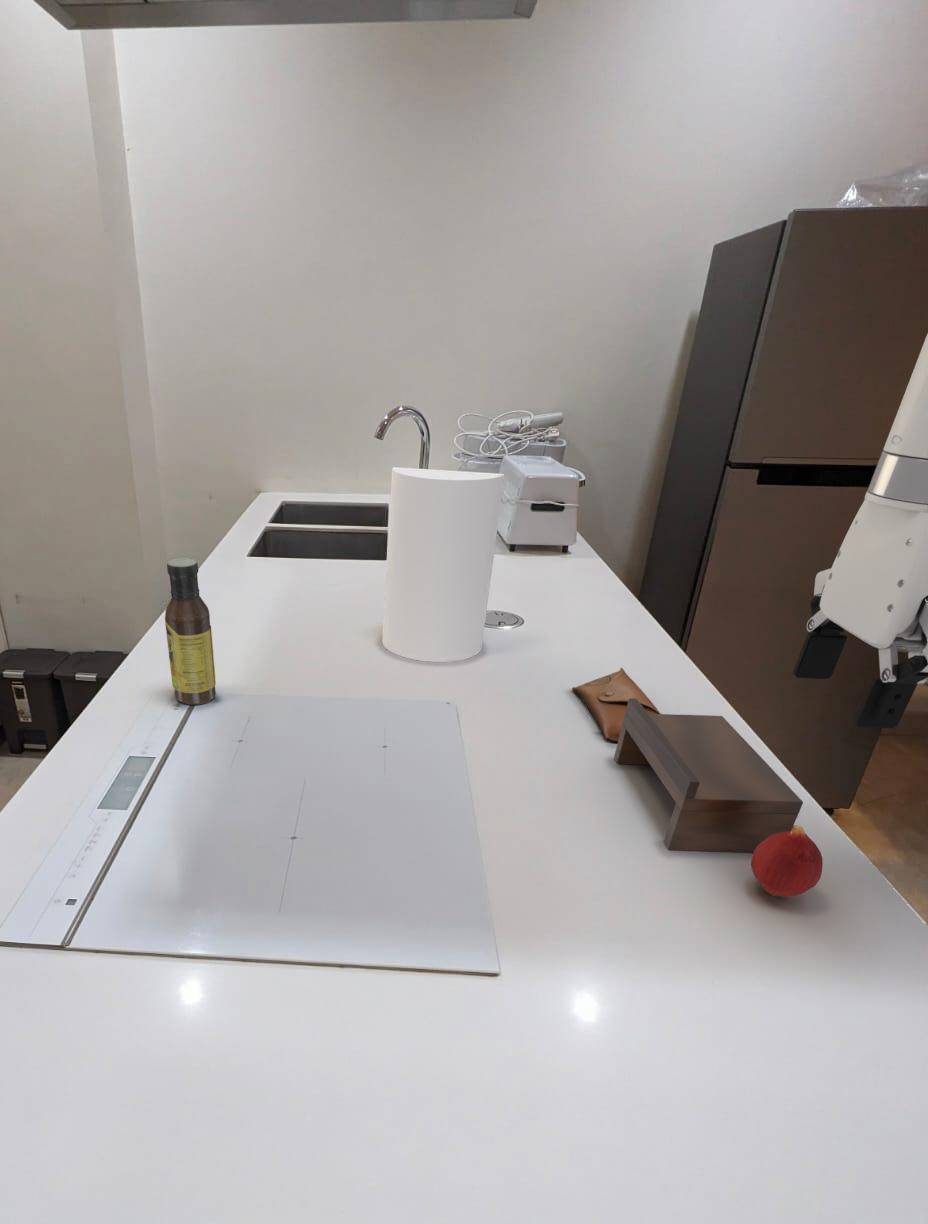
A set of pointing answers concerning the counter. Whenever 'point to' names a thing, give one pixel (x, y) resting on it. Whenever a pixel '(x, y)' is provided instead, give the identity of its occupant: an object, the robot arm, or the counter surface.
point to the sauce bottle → (189, 635)
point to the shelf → (708, 780)
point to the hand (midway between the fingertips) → (840, 700)
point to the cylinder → (439, 562)
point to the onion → (787, 863)
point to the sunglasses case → (612, 701)
